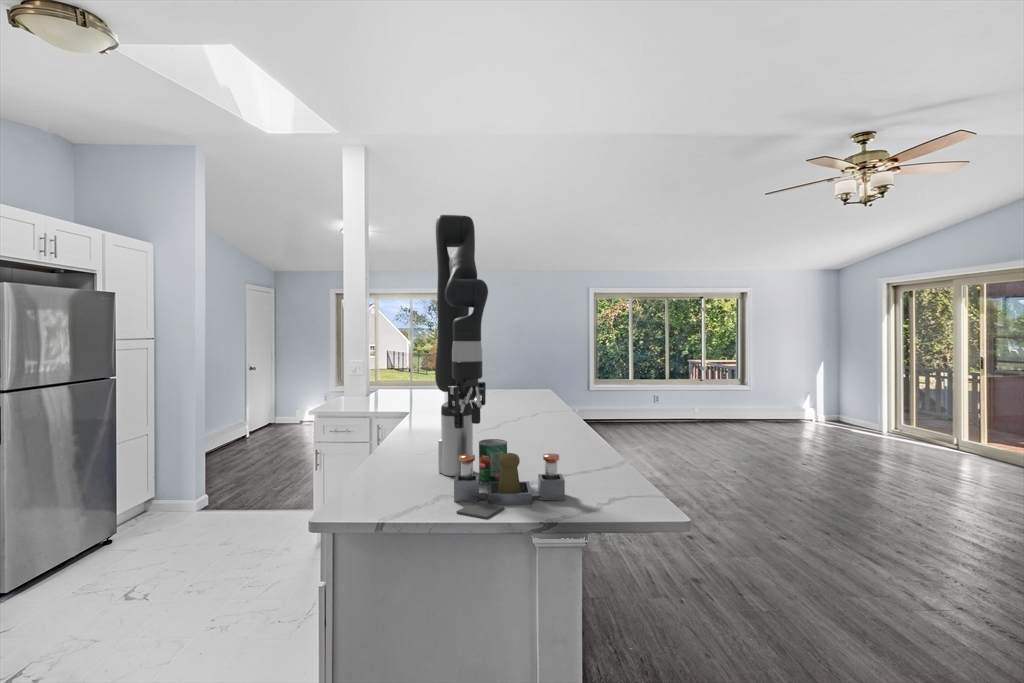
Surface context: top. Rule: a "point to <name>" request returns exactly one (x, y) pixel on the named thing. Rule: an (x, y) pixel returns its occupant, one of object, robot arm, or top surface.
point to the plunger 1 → (467, 466)
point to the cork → (509, 473)
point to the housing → (546, 491)
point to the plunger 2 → (550, 466)
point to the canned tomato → (490, 459)
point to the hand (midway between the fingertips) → (467, 425)
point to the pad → (480, 510)
